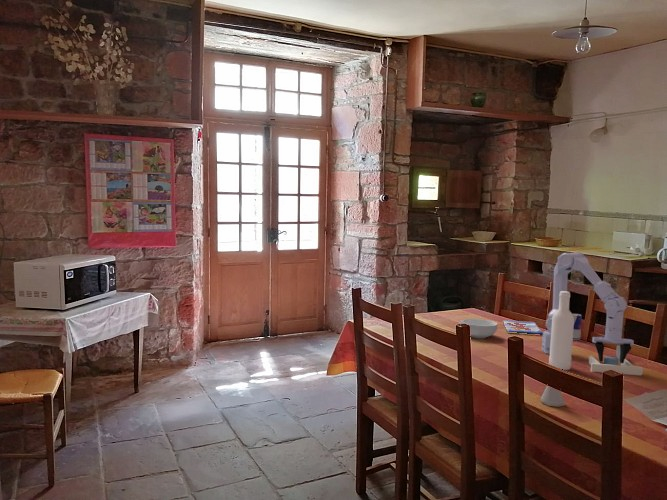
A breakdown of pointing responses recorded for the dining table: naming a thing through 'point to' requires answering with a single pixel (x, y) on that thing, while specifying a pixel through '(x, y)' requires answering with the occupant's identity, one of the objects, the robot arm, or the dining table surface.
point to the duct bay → (615, 367)
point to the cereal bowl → (480, 327)
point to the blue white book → (529, 325)
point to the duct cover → (618, 352)
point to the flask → (552, 397)
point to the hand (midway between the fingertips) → (611, 361)
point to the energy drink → (577, 326)
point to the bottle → (562, 334)
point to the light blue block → (610, 360)
